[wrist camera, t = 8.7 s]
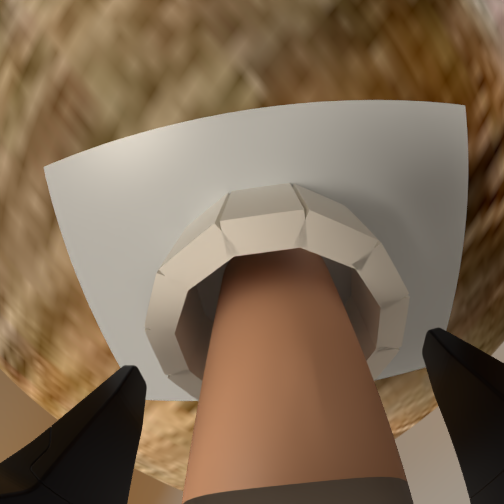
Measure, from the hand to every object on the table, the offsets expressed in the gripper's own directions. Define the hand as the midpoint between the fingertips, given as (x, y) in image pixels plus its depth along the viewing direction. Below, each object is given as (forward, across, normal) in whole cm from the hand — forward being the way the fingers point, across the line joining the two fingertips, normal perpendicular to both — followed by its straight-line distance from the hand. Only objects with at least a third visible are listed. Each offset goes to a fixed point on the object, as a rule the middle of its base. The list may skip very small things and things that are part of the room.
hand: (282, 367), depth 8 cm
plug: (+4, 0, 0) cm, 5 cm away
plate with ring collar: (+5, 0, 0) cm, 5 cm away
